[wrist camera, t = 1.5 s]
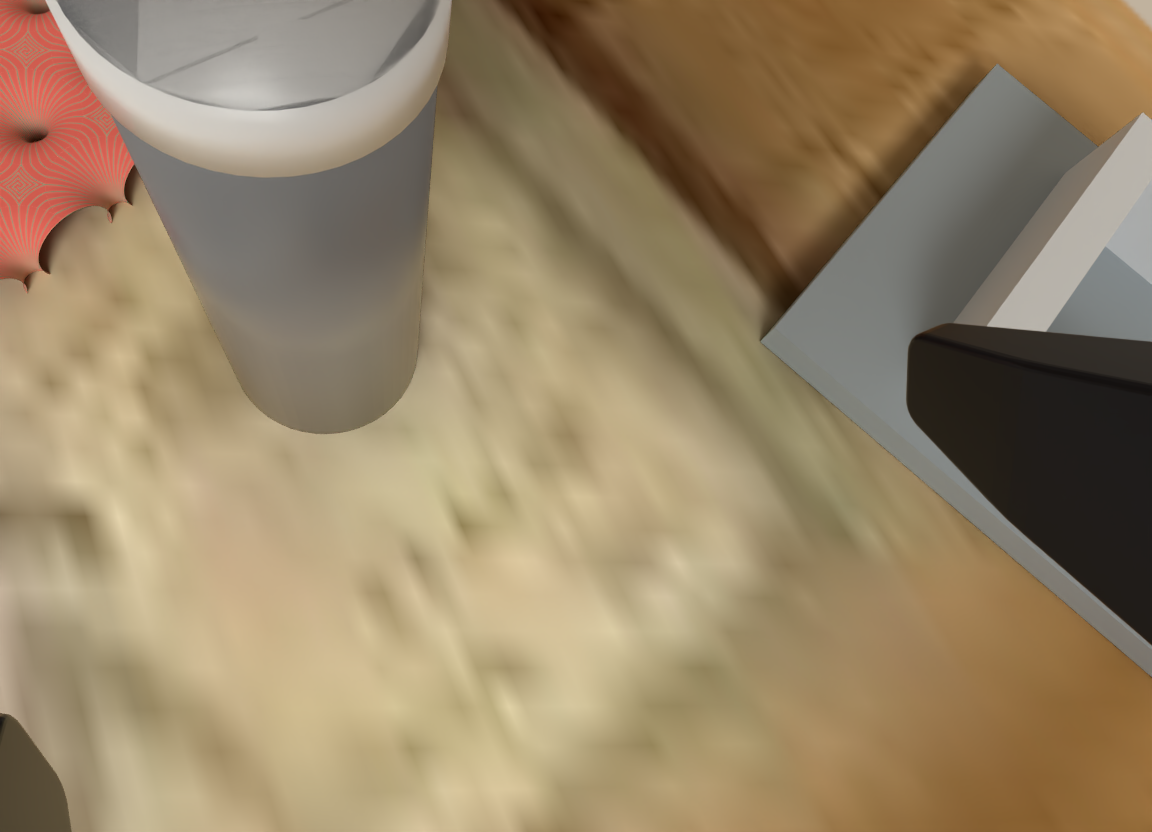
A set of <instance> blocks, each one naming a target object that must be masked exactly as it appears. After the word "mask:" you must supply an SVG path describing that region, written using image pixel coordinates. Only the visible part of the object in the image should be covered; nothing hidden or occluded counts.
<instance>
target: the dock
mask: <svg viewBox="0 0 1152 832" xmlns="http://www.w3.org/2000/svg"><path fill="white" fill-rule="evenodd" d="M945 323H957V324H968V325H979V326H989V327H1000V328H1011V329H1022V330H1032V331H1043V332H1054V333H1065V334H1076V335H1086V336H1097V337H1108V338H1119V339H1129V340H1140V341H1151V342H1152V120H1151V119H1150V118H1149V117H1148V116H1146V115H1145V114H1144V113H1143V112H1142V113H1141V114H1140V115H1138V116H1137V117H1136V118H1135V119H1133V120H1132V121H1131V122H1130V123H1128V124H1127V125H1126V126H1124V127H1123V128H1122V129H1121V130H1119V131H1118V132H1117V133H1115V134H1114V135H1113V136H1112V137H1110V138H1109V139H1108V140H1107V141H1105V142H1104V143H1103V144H1101V145H1100V146H1099V147H1098V146H1097V145H1095V144H1094V143H1093V142H1092V141H1091V140H1089V139H1088V138H1087V137H1086V136H1085V135H1083V134H1082V133H1081V132H1080V131H1078V130H1077V129H1076V128H1075V127H1074V126H1072V125H1071V124H1070V123H1069V122H1067V121H1066V120H1065V119H1064V118H1063V117H1061V116H1060V115H1059V114H1058V113H1057V112H1055V111H1054V110H1053V109H1052V108H1050V107H1049V106H1048V105H1047V104H1046V103H1044V102H1043V101H1042V100H1041V99H1040V98H1038V97H1037V96H1036V95H1035V94H1033V93H1032V92H1031V91H1030V90H1029V89H1027V88H1026V87H1025V86H1024V85H1022V84H1021V83H1020V82H1019V81H1018V80H1016V79H1015V78H1014V77H1013V76H1012V75H1010V74H1009V73H1008V72H1007V71H1005V70H1004V69H1003V68H1002V67H1001V66H999V65H998V64H996V65H995V66H994V67H993V69H992V70H991V71H990V72H989V73H988V74H987V75H986V76H985V77H984V78H983V79H982V80H981V81H980V82H979V83H978V84H977V86H976V87H975V88H974V89H973V90H972V91H971V93H970V94H969V95H968V96H967V97H966V99H965V100H964V101H963V102H962V103H961V104H960V106H959V107H958V108H957V109H956V110H955V112H954V113H953V114H952V115H951V116H950V118H949V119H948V120H947V121H946V122H945V123H944V125H943V126H942V127H941V128H940V129H939V131H938V132H937V133H936V134H935V135H934V136H933V138H932V139H931V140H930V141H929V142H928V144H927V145H926V146H925V147H924V148H923V149H922V151H921V152H920V153H919V154H918V155H917V157H916V158H915V159H914V160H913V161H912V162H911V164H910V165H909V166H908V167H907V168H906V170H905V171H904V172H903V173H902V174H901V176H900V177H899V178H898V179H897V180H896V181H895V183H894V184H893V185H892V186H891V187H890V189H889V190H888V191H887V192H886V193H885V194H884V196H883V197H882V198H881V199H880V200H879V202H878V203H877V204H876V205H875V206H874V207H873V209H872V210H871V211H870V212H869V213H868V215H867V216H866V217H865V218H864V219H863V220H862V222H861V223H860V224H859V225H858V226H857V228H856V229H855V230H854V231H853V232H852V234H851V235H850V236H849V237H848V238H847V239H846V241H845V242H844V243H843V244H842V245H841V247H840V248H839V249H838V250H837V251H836V252H835V254H834V255H833V256H832V257H831V258H830V260H829V261H828V262H827V263H826V264H825V265H824V267H823V268H822V269H821V270H820V271H819V273H818V274H817V275H816V276H815V277H814V278H813V280H812V281H811V282H810V283H809V284H808V286H807V287H806V288H805V289H804V290H803V292H802V293H801V294H800V295H799V296H798V297H797V299H796V300H795V301H794V302H793V303H792V305H791V306H790V307H789V308H788V309H787V310H786V312H785V313H784V314H783V315H782V316H781V318H780V319H779V320H778V321H777V322H776V323H775V325H774V326H773V327H772V328H771V329H770V331H769V332H768V333H767V334H766V335H765V336H764V338H763V339H762V340H761V341H760V342H761V343H762V344H764V345H765V346H766V347H767V348H768V349H769V350H771V351H772V352H773V353H774V354H775V355H776V356H778V357H779V358H780V359H781V360H782V361H783V362H785V363H786V364H787V365H788V366H789V367H790V368H792V369H793V370H794V371H795V372H796V373H797V374H799V375H800V376H801V377H802V378H803V379H804V380H806V381H807V382H808V383H809V384H810V385H811V386H813V387H814V388H815V389H816V390H817V391H818V392H820V393H821V394H822V395H823V396H824V397H825V398H827V399H828V400H829V401H830V402H831V403H832V404H834V405H835V406H836V407H837V408H838V409H839V410H841V411H842V412H843V413H844V414H845V415H846V416H848V417H849V418H850V419H851V420H852V421H853V422H855V423H856V424H857V425H858V426H859V427H860V428H862V429H863V430H864V431H865V432H866V433H867V434H869V435H870V436H871V437H872V438H873V439H875V440H876V441H877V442H878V443H879V444H880V445H882V446H883V447H884V448H885V449H886V450H887V451H889V452H890V453H891V454H892V455H893V456H894V457H896V458H897V459H898V460H899V461H900V462H901V463H903V464H904V465H905V466H906V467H907V468H908V469H910V470H911V471H912V472H913V473H914V474H915V475H917V476H918V477H919V478H920V479H921V480H922V481H924V482H925V483H926V484H927V485H928V486H929V487H931V488H932V489H933V490H934V491H935V492H936V493H938V494H939V495H940V496H941V497H942V498H943V499H945V500H946V501H947V502H948V503H949V504H950V505H952V506H953V507H954V508H955V509H956V510H957V511H959V512H960V513H961V514H962V515H963V516H964V517H966V518H967V519H968V520H969V521H970V522H971V523H973V524H974V525H975V526H976V527H977V528H978V529H980V530H981V531H982V532H983V533H984V534H985V535H987V536H988V537H989V538H990V539H991V540H992V541H994V542H995V543H996V544H997V545H998V546H999V547H1001V548H1002V549H1003V550H1004V551H1005V552H1006V553H1008V554H1009V555H1010V556H1011V557H1012V558H1013V559H1015V560H1016V561H1017V562H1018V563H1019V564H1020V565H1022V566H1023V567H1024V568H1025V569H1026V570H1027V571H1029V572H1030V573H1031V574H1032V575H1033V576H1034V577H1036V578H1037V579H1038V580H1039V581H1040V582H1041V583H1043V584H1044V585H1045V586H1046V587H1047V588H1048V589H1050V590H1051V591H1052V592H1053V593H1054V594H1055V595H1057V596H1058V597H1059V598H1060V599H1061V600H1062V601H1064V602H1065V603H1066V604H1067V605H1068V606H1069V607H1071V608H1072V609H1073V610H1074V611H1075V612H1076V613H1078V614H1079V615H1080V616H1081V617H1082V618H1083V619H1085V620H1086V621H1087V622H1088V623H1089V624H1090V625H1092V626H1093V627H1094V628H1095V629H1096V630H1097V631H1099V632H1100V633H1101V634H1102V635H1103V636H1104V637H1106V638H1107V639H1108V640H1109V641H1110V642H1111V643H1113V644H1114V645H1115V646H1116V647H1117V648H1118V649H1120V650H1121V651H1122V652H1123V653H1124V654H1125V655H1127V656H1128V657H1129V658H1130V659H1131V660H1132V661H1134V662H1135V663H1136V664H1137V665H1138V666H1139V667H1141V668H1142V669H1143V670H1144V671H1145V672H1146V673H1148V674H1149V675H1150V676H1151V677H1152V645H1150V644H1149V643H1148V642H1147V641H1146V640H1145V639H1143V638H1142V637H1141V636H1140V635H1139V634H1138V633H1137V632H1135V631H1134V630H1133V629H1132V628H1131V627H1130V626H1128V625H1127V624H1126V623H1125V622H1124V621H1123V620H1121V619H1120V618H1119V617H1118V616H1117V615H1116V614H1115V613H1113V612H1112V611H1111V610H1110V609H1109V608H1108V607H1106V606H1105V605H1104V604H1103V603H1102V602H1101V601H1100V600H1098V599H1097V598H1096V597H1095V596H1094V595H1093V594H1091V593H1090V592H1089V591H1088V590H1087V589H1086V588H1085V587H1083V586H1082V585H1081V584H1080V583H1079V582H1078V581H1076V580H1075V579H1074V578H1073V577H1072V576H1071V575H1070V574H1068V573H1067V572H1066V571H1065V570H1064V569H1063V568H1061V567H1060V566H1059V565H1058V564H1057V563H1056V562H1055V561H1053V560H1052V559H1051V558H1050V557H1049V556H1048V555H1046V554H1045V553H1044V552H1043V551H1042V550H1041V549H1040V548H1038V547H1037V546H1036V545H1035V544H1034V543H1033V542H1031V541H1030V540H1029V539H1028V538H1027V537H1026V536H1025V535H1023V534H1022V533H1021V532H1020V531H1019V530H1018V529H1017V528H1016V527H1015V526H1013V525H1012V524H1011V523H1010V522H1009V521H1008V520H1007V519H1006V518H1005V517H1004V516H1003V515H1002V514H1001V513H1000V512H999V511H998V510H997V509H996V508H995V507H994V506H993V505H992V504H991V503H990V502H989V501H988V500H987V499H986V498H985V497H984V496H983V495H982V494H981V493H980V492H979V491H978V489H977V488H976V487H975V486H974V485H973V484H972V483H971V482H970V481H969V480H968V479H967V478H966V477H965V476H964V475H963V474H962V473H961V472H960V470H959V469H958V468H957V467H956V466H955V465H954V464H953V463H952V462H951V461H950V460H949V459H948V458H947V457H946V456H945V455H944V454H943V453H942V451H941V450H940V449H939V448H938V447H937V446H936V445H935V444H934V443H933V442H932V441H931V440H930V439H929V438H928V437H927V436H926V435H925V434H924V433H923V431H922V430H921V429H920V428H919V427H918V426H917V425H916V424H915V423H914V421H913V420H912V418H911V416H910V414H909V412H908V409H907V405H906V383H907V354H908V346H909V344H910V342H911V339H912V338H913V337H914V336H915V335H917V334H919V333H921V332H924V331H926V330H928V329H931V328H933V327H936V326H938V325H941V324H945Z"/></svg>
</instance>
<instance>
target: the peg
mask: <svg viewBox="0 0 1152 832" xmlns="http://www.w3.org/2000/svg"><path fill="white" fill-rule="evenodd" d="M45 1H46V3H47V5H48V7H49V9H50V11H51V13H52V15H53V17H54V19H55V21H56V23H57V25H58V27H59V29H60V31H61V33H62V35H63V37H64V39H65V41H66V43H67V45H68V47H69V49H70V51H71V53H72V55H73V57H74V59H75V61H76V63H77V65H78V67H79V69H80V71H81V73H82V75H83V77H84V79H85V80H86V82H87V84H88V86H89V88H90V89H91V91H92V92H93V93H94V95H95V96H96V97H97V99H98V100H99V101H100V103H101V104H102V105H103V107H104V108H105V109H106V110H107V111H108V112H109V113H110V114H111V116H112V118H113V120H114V122H115V124H116V126H117V129H118V131H119V133H120V135H121V137H122V139H123V141H124V143H125V145H126V147H127V149H128V151H129V154H130V156H131V158H132V160H133V162H134V164H135V166H136V168H137V170H138V172H139V174H140V177H141V179H142V181H143V183H144V185H145V187H146V189H147V191H148V193H149V195H150V197H151V199H152V202H153V204H154V206H155V208H156V210H157V212H158V214H159V216H160V218H161V220H162V222H163V225H164V227H165V229H166V231H167V233H168V235H169V237H170V239H171V241H172V243H173V245H174V247H175V250H176V252H177V254H178V256H179V258H180V260H181V262H182V264H183V266H184V268H185V270H186V273H187V275H188V277H189V279H190V281H191V283H192V285H193V287H194V289H195V291H196V293H197V295H198V298H199V300H200V302H201V304H202V306H203V308H204V310H205V312H206V314H207V316H208V318H209V320H210V323H211V325H212V327H213V329H214V331H215V333H216V335H217V337H218V339H219V341H220V343H221V346H222V348H223V350H224V352H225V354H226V356H227V358H228V360H229V362H230V364H231V366H232V368H233V371H234V373H235V375H236V377H237V379H238V381H239V383H240V385H241V387H242V389H243V390H244V392H245V394H246V395H247V396H248V398H249V399H250V400H251V402H252V403H253V404H254V405H255V406H256V407H257V408H258V409H259V410H260V411H262V412H263V413H264V414H265V415H267V416H268V417H269V418H271V419H273V420H275V421H276V422H278V423H280V424H282V425H284V426H287V427H289V428H292V429H295V430H299V431H302V432H308V433H315V434H332V433H341V432H346V431H350V430H354V429H357V428H360V427H362V426H365V425H367V424H369V423H371V422H373V421H375V420H376V419H378V418H379V417H381V416H382V415H384V414H385V413H386V412H387V411H388V410H390V409H391V408H392V407H393V406H394V405H395V404H396V403H397V401H398V400H399V399H400V398H401V397H402V395H403V394H404V392H405V391H406V389H407V387H408V385H409V383H410V381H411V379H412V376H413V373H414V370H415V366H416V361H417V352H418V338H419V325H420V312H421V298H422V285H423V271H424V258H425V244H426V231H427V217H428V204H429V190H430V177H431V164H432V150H433V137H434V123H435V110H436V96H437V84H438V82H439V79H440V76H441V74H442V71H443V68H444V65H445V60H446V54H447V49H448V40H449V29H450V17H451V6H452V0H45Z"/></svg>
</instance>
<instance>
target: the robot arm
mask: <svg viewBox="0 0 1152 832" xmlns="http://www.w3.org/2000/svg"><path fill="white" fill-rule="evenodd" d="M906 405H907V409H908V412H909V414H910V416H911V418H912V420H913V421H914V423H915V424H916V425H917V426H918V427H919V428H920V429H921V430H922V431H923V433H924V434H925V435H926V436H927V437H928V438H929V439H930V440H931V441H932V442H933V443H934V444H935V445H936V446H937V447H938V448H939V449H940V450H941V451H942V453H943V454H944V455H945V456H946V457H947V458H948V459H949V460H950V461H951V462H952V463H953V464H954V465H955V466H956V467H957V468H958V469H959V470H960V472H961V473H962V474H963V475H964V476H965V477H966V478H967V479H968V480H969V481H970V482H971V483H972V484H973V485H974V486H975V487H976V488H977V489H978V491H979V492H980V493H981V494H982V495H983V496H984V497H985V498H986V499H987V500H988V501H989V502H990V503H991V504H992V505H993V506H994V507H995V508H996V509H997V510H998V511H999V512H1000V513H1001V514H1002V515H1003V516H1004V517H1005V518H1006V519H1007V520H1008V521H1009V522H1010V523H1011V524H1012V525H1013V526H1015V527H1016V528H1017V529H1018V530H1019V531H1020V532H1021V533H1022V534H1023V535H1025V536H1026V537H1027V538H1028V539H1029V540H1030V541H1031V542H1033V543H1034V544H1035V545H1036V546H1037V547H1038V548H1040V549H1041V550H1042V551H1043V552H1044V553H1045V554H1046V555H1048V556H1049V557H1050V558H1051V559H1052V560H1053V561H1055V562H1056V563H1057V564H1058V565H1059V566H1060V567H1061V568H1063V569H1064V570H1065V571H1066V572H1067V573H1068V574H1070V575H1071V576H1072V577H1073V578H1074V579H1075V580H1076V581H1078V582H1079V583H1080V584H1081V585H1082V586H1083V587H1085V588H1086V589H1087V590H1088V591H1089V592H1090V593H1091V594H1093V595H1094V596H1095V597H1096V598H1097V599H1098V600H1100V601H1101V602H1102V603H1103V604H1104V605H1105V606H1106V607H1108V608H1109V609H1110V610H1111V611H1112V612H1113V613H1115V614H1116V615H1117V616H1118V617H1119V618H1120V619H1121V620H1123V621H1124V622H1125V623H1126V624H1127V625H1128V626H1130V627H1131V628H1132V629H1133V630H1134V631H1135V632H1137V633H1138V634H1139V635H1140V636H1141V637H1142V638H1143V639H1145V640H1146V641H1147V642H1148V643H1149V644H1150V645H1152V342H1151V341H1140V340H1129V339H1119V338H1108V337H1097V336H1086V335H1076V334H1065V333H1054V332H1043V331H1032V330H1022V329H1011V328H1000V327H989V326H979V325H968V324H957V323H945V324H941V325H938V326H936V327H933V328H931V329H928V330H926V331H924V332H921V333H919V334H917V335H915V336H914V337H913V338H912V339H911V342H910V344H909V346H908V354H907V383H906ZM0 832H72V831H71V824H70V818H69V811H68V804H67V799H66V796H65V792H64V789H63V786H62V784H61V782H60V780H59V778H58V776H57V774H56V773H55V771H54V770H53V768H52V767H51V766H50V764H49V763H48V762H47V760H46V759H45V757H44V756H43V755H42V753H41V752H40V750H39V749H38V748H37V746H36V745H35V744H34V742H33V741H32V739H31V738H30V737H29V735H28V734H27V733H26V731H25V730H24V728H23V727H22V726H21V724H20V723H19V722H18V721H17V720H16V719H15V718H13V717H12V716H11V715H9V714H2V713H0Z"/></svg>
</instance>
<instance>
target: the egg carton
mask: <svg viewBox="0 0 1152 832" xmlns="http://www.w3.org/2000/svg"><path fill="white" fill-rule="evenodd" d="M40 138H44V139H42V140H41V141H38V142H34V141H36V140H38V139H40ZM33 142H34V143H33ZM133 165H134V162H133V160H132V158H131V156H130V154H129V151H128V149H127V147H126V145H125V143H124V141H123V139H122V137H121V135H120V133H119V131H118V129H117V126H116V124H115V122H114V120H113V118H112V116H111V114H110V113H109V112H108V111H107V110H106V109H105V108H104V107H103V105H102V104H101V103H100V101H99V100H98V99H97V97H96V96H95V95H94V93H93V92H92V91H91V89H90V88H89V86H88V84H87V82H86V80H85V79H84V77H83V75H82V73H81V71H80V69H79V67H78V65H77V63H76V61H75V59H74V57H73V55H72V53H71V51H70V49H69V47H68V45H67V43H66V41H65V39H64V37H63V35H62V33H61V31H60V29H59V27H58V25H57V23H56V21H55V19H54V17H53V15H52V13H51V11H50V9H49V7H48V5H47V3H46V1H45V0H0V279H6V278H13V279H17V280H20V281H22V282H23V286H24V289H25V291H26V292H27V288H26V286H25V284H24V280H25V278H26V277H27V276H28V275H29V274H30V273H32V272H34V271H43V270H42V269H41V267H40V265H39V260H38V257H39V251H40V248H41V246H42V243H43V242H44V240H45V238H46V237H47V235H48V234H49V232H50V231H51V230H52V229H53V228H54V227H55V226H56V225H57V224H58V223H59V222H60V221H61V220H62V219H64V218H65V217H66V216H68V215H69V214H71V213H73V212H75V211H77V210H79V209H81V208H84V207H88V206H101V207H104V208H105V209H107V210H109V209H110V207H111V206H112V205H114V204H116V203H119V202H127V200H126V198H125V195H124V186H125V182H126V179H127V176H128V174H129V172H130V170H131V169H132V167H133ZM127 203H128V202H127ZM129 204H130V203H129ZM131 205H132V204H131ZM108 219H109V221H110V222H111V223H112V218H111V215H110V213H109V211H108ZM44 272H46V271H44ZM46 273H48V272H46ZM48 274H50V273H48ZM27 293H28V292H27Z"/></svg>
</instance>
